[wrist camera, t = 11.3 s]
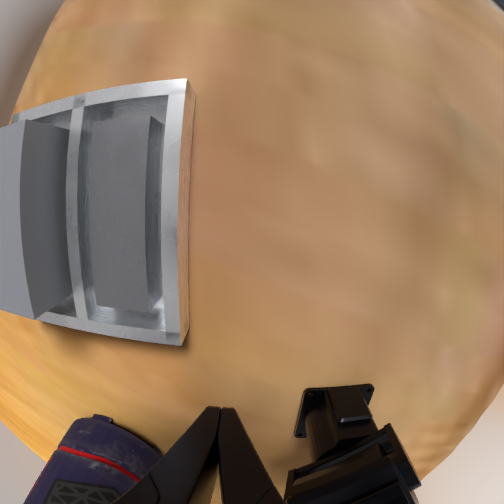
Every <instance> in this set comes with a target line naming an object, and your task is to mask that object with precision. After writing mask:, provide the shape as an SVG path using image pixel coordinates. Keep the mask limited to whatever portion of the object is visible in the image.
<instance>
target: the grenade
mask: <svg viewBox="0 0 504 504" xmlns="http://www.w3.org/2000/svg"><path fill="white" fill-rule="evenodd" d="M111 420H112V419H111V418H109V417H106V416H103V415H98V414H94V416H93V417H92V418H80V419H77V420H76V421H74V422H73V423H72V425H71V427H70V428H69V430H68V431H67V433H66V434H65V436H64V437H63V439H62V440H61V442H60V444H59V445H58V449H57V450H56V451H54V453H53V454H52V456H51V458H50V459H49V461H48V462H47V464H46V466H45V467H44V469H43V471H42V472H41V474H40V476H39V477H38V479H37V481H36V482H35V484H34V486H33V488H32V490H31V491H30V493H29V495H28V496H27V498H26V500H25V502H24V504H111V503H113V502H114V501H115V500H117V499H118V498H120V497H121V496H122V495H123V494H125V493H126V492H127V491H129V490H130V489H131V488H132V487H133V486H134V485H135V484H136V483H137V482H139V481H140V480H141V479H142V478H143V477H144V476H145V474H146V473H149V471H150V470H151V468H152V467H153V466H154V465H155V464H156V463H157V462H158V461H159V460H160V459H161V458H162V457H163V456H162V454H161V452H160V450H159V449H158V448H157V447H156V446H155V447H154V448H153V449H152V448H151V447H150V446H149V445H148V444H146V443H145V442H144V441H142V440H141V439H139V438H138V437H136V436H135V435H133V434H131V433H129V432H127V431H126V430H124V429H122V428H119V427H117V426H115V425H113V424H110V422H111Z"/></svg>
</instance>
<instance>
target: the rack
mask: <svg viewBox="0 0 504 504" xmlns="http://www.w3.org/2000/svg"><path fill="white" fill-rule="evenodd" d="M195 99H196V93H195V91H194V89H193V88H192V86H191V84H190V83H189V81H188V80H187V79H173V80H162V81H152V82H144V83H136V84H130V85H123V86H117V87H112V88H106V89H101V90H96V91H92V92H87V93H83V94H79V95H75V96H71V97H67V98H63V99H60V100H56V101H53V102H49V103H46V104H43V105H40V106H37V107H34V108H31V109H28V110H25V111H22V112H20V113H17V114H14V115H13V117H12V124H13V123H16V122H19V121H22V120H25V119H27V120H32V121H36V122H40V123H45V124H49V125H53V126H57V127H61V128H65V129H69V130H70V132H69V142H68V154H67V170H66V227H67V244H68V256H69V266H70V275H71V282H72V289H73V294H71V295H70V296H68V297H67V298H65V299H64V300H62V301H61V302H59V303H58V304H57V305H55V306H54V307H52V308H51V309H49V310H48V311H46V312H45V313H44V314H42V315H41V316H39V317H38V318H36V320H40V321H44V322H47V323H51V324H56V325H60V326H64V327H68V328H73V329H77V330H82V331H87V332H92V333H97V334H102V335H108V336H113V337H119V338H125V339H132V340H138V341H145V342H152V343H160V344H168V345H177V346H181V345H182V343H183V341H184V338H185V336H186V334H187V331H188V329H189V327H190V319H189V284H188V224H189V188H190V167H191V149H192V135H193V122H194V110H195Z"/></svg>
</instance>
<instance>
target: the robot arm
mask: <svg viewBox="0 0 504 504" xmlns="http://www.w3.org/2000/svg"><path fill="white" fill-rule="evenodd" d="M368 389H369V390H368ZM373 392H374V387H373V385H372V384H362V385H352V386H339V387H323V388H308V389H306V390H305V391H304V393H303V398H302V402H301V407H300V411H299V416H298V420H297V424H296V428H295V437H297V438H307V441H308V446H309V451H310V456H311V461H312V463H311V464H308V465H306V466H303V467H300V468H298V469H292V470H289V471H288V477H287V483H286V489H285V495H284V500H283V499H282V497H281V496H280V494H279V492H278V490H277V489H276V487H275V486H274V484H273V482H272V480H271V478H270V477H269V475H268V473H267V471H266V469H265V467H264V465H263V464H262V462H261V460H260V458H259V456H258V454H257V452H256V450H255V448H254V446H253V444H252V442H251V440H250V438H249V436H248V434H247V432H246V430H245V428H244V426H243V424H242V422H241V420H240V418H239V416H238V414H237V412H236V410H235V409H234V408H227V407H223V408H222V409H221V408H220V407H214V406H208V407H207V408H206V409H205V410H204V411H203V412H202V414H201V415H200V416H199V417H198V418H197V419H196V420H195V422H194V423H193V424H192V425H191V426H190V427H189V428H188V430H187V431H186V432H185V433H184V434H183V435H182V436H181V437H180V438H179V440H178V441H177V442H176V443H175V444H174V445H173V446H172V447H171V448H170V449H169V451H168V452H167V453H166V454H165V455H164V456H163V457H162V458H161V459H160V460H159V461H158V462H157V463H156V464H155V465H154V466H153V467H152V468H151V470H150V471H149V473H146V474H145V476H144V477H143V478H142V479H141V480H140V481H139V482H137V483H136V484H135V485H134V486H133V487H132V488H131V489H130V490H129V491H127V492H126V493H125V494H123V495H122V496H121V497H120V498H118V499H117V500H115V501H114V502H113V503H111V504H210V502H211V498H212V493H213V489H214V485H215V481H216V476H217V472H218V466H219V478H220V489H221V500H222V504H419V502H418V499H417V497H416V495H415V493H414V491H413V490H415V489H416V488H418V487H420V486H421V482H420V480H419V478H418V475H417V473H416V471H415V469H414V467H413V464H412V462H411V460H410V458H409V456H408V454H407V453H406V451H405V449H404V447H403V445H402V443H401V441H400V440H399V438H398V436H397V434H396V433H395V431H394V429H393V427H392V426H391V424H390V423H388V424H387V425H385V426H384V428H382V429H380V430H378V428H377V426H376V424H375V422H374V420H373V418H372V413H371V411H370V409H369V407H368V405H369V402H370V400H371V397H372V394H373ZM309 393H311V394H309Z"/></svg>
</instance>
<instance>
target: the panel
mask: <svg viewBox="0 0 504 504" xmlns="http://www.w3.org/2000/svg"><path fill="white" fill-rule="evenodd" d="M69 132H70V130H69V129H65V128H61V127H57V126H53V125H49V124H45V123H40V122H36V121H32V120H27V119H25V120H22V121H19V122H16V123H13V124H10V125H8V126H5V127H2V128H0V310H3V311H7V312H10V313H13V314H16V315H20V316H23V317H27V318H30V319H34V320H35V319H36V318H38V317H39V316H41V315H42V314H44V313H45V312H46V311H48V310H49V309H51V308H52V307H54V306H55V305H57V304H58V303H59V302H61V301H62V300H64V299H65V298H67V297H68V296H70V295H71V294H73V289H72V282H71V275H70V266H69V256H68V244H67V227H66V170H67V154H68V142H69Z"/></svg>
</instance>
